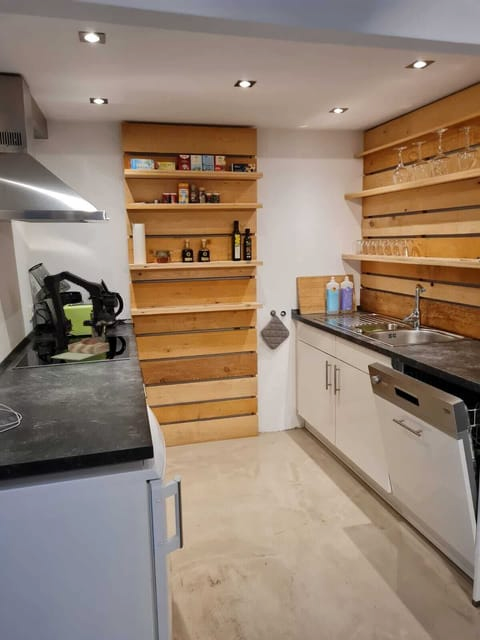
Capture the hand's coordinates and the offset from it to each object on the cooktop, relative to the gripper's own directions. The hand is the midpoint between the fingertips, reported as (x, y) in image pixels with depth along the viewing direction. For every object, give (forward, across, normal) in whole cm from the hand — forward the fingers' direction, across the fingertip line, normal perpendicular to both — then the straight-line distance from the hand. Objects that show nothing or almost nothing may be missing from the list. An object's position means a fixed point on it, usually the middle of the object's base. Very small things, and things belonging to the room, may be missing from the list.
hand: (100, 336), depth 257 cm
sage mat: (+6, -21, 0) cm, 22 cm away
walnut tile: (+2, -8, 0) cm, 8 cm away
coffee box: (+6, +16, +15) cm, 22 cm away
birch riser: (+6, -10, 0) cm, 11 cm away
